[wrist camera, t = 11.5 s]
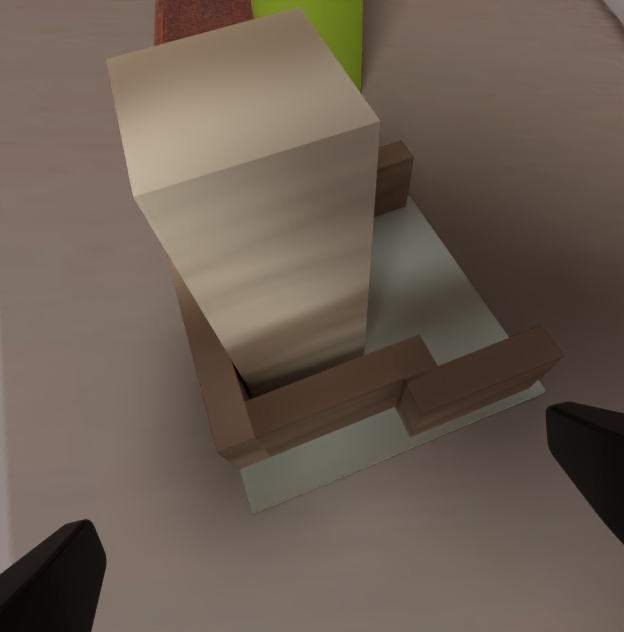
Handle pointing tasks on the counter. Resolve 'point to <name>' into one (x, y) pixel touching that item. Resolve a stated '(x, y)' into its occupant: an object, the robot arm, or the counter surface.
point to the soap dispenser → (328, 27)
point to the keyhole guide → (373, 364)
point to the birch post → (258, 188)
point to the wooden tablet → (197, 17)
